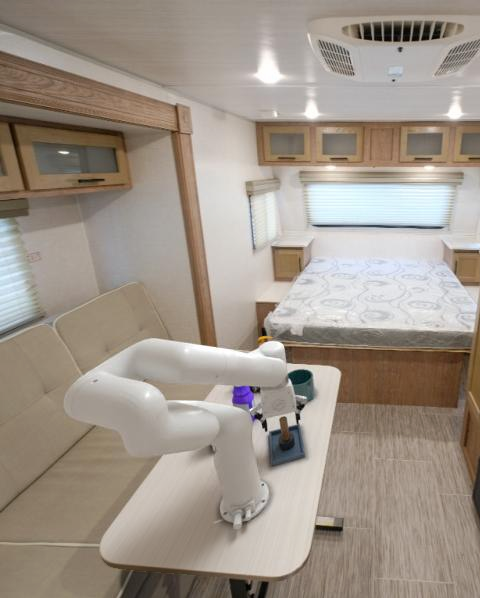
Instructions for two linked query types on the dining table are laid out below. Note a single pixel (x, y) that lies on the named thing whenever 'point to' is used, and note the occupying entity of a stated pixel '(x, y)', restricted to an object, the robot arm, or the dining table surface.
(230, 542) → the dining table surface
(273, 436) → the dish
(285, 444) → the scrub brush
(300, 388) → the canister
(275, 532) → the dining table surface
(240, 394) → the bottle
